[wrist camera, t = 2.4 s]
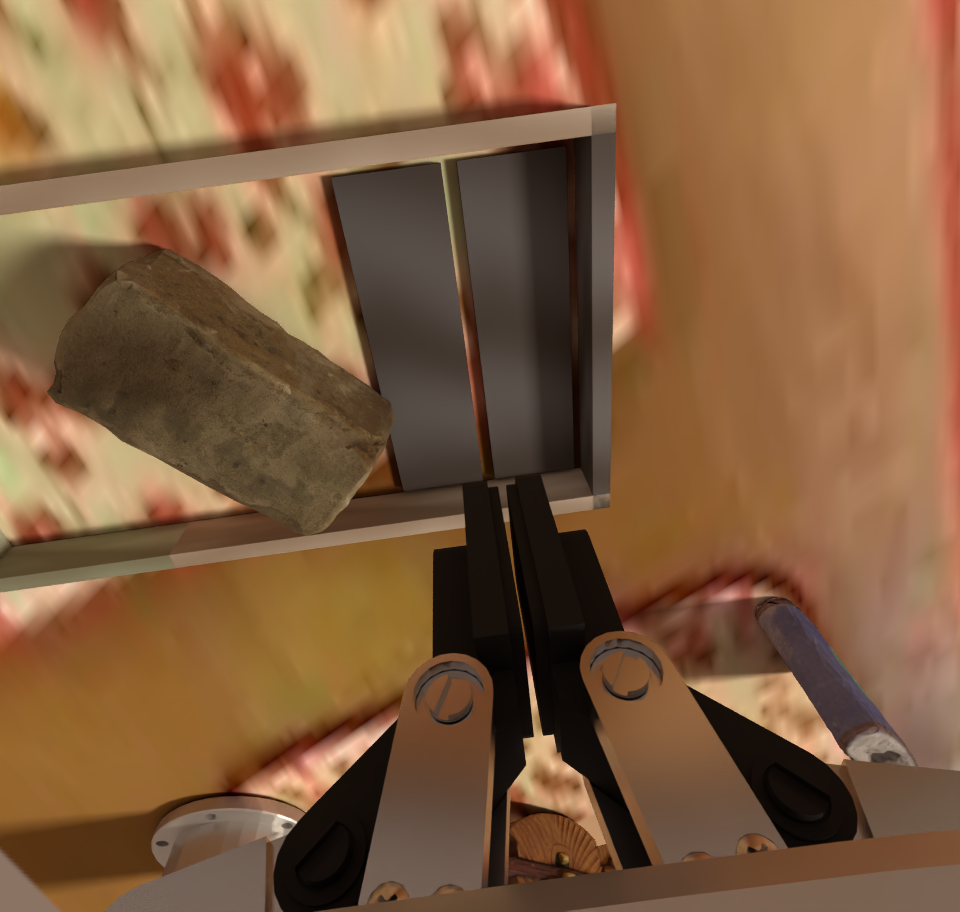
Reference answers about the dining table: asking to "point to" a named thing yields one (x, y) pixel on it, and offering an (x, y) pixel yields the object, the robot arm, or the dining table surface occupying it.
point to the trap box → (417, 328)
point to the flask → (831, 686)
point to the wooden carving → (553, 850)
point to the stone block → (220, 392)
